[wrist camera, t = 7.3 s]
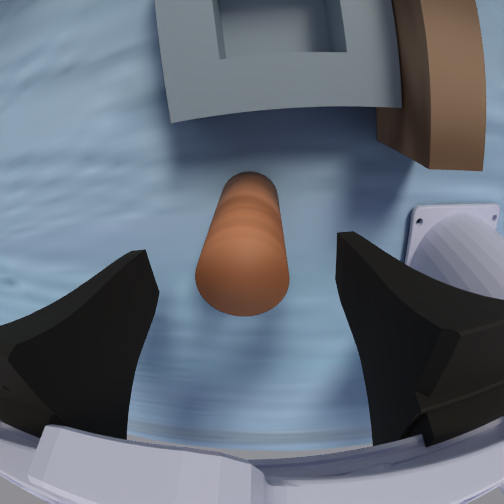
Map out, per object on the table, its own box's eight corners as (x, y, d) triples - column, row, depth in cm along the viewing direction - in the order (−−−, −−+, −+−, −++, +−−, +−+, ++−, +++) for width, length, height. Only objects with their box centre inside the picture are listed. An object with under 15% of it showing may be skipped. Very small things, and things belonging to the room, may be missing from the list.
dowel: (279, 221, 18) (290, 312, 11) (225, 226, 18) (205, 318, 11) (275, 169, 16) (287, 235, 9) (217, 174, 16) (185, 244, 10)
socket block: (371, 102, 14) (401, 108, 11) (191, 115, 15) (171, 123, 12) (349, -49, 9) (371, -76, 6) (172, -37, 10) (150, -64, 7)
